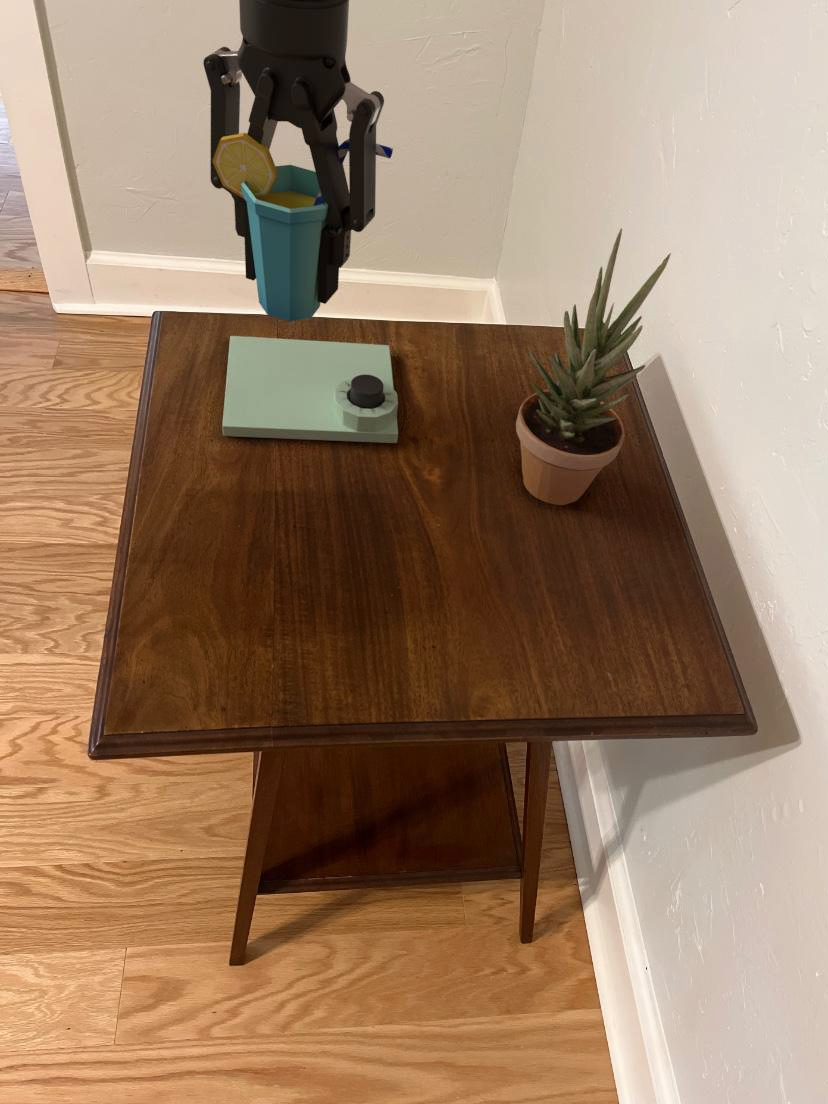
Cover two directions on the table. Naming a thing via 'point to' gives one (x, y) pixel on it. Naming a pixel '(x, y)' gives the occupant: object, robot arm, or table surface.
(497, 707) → the table surface
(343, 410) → the scale
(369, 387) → the tare button
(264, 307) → the cup
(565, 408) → the potted plant
